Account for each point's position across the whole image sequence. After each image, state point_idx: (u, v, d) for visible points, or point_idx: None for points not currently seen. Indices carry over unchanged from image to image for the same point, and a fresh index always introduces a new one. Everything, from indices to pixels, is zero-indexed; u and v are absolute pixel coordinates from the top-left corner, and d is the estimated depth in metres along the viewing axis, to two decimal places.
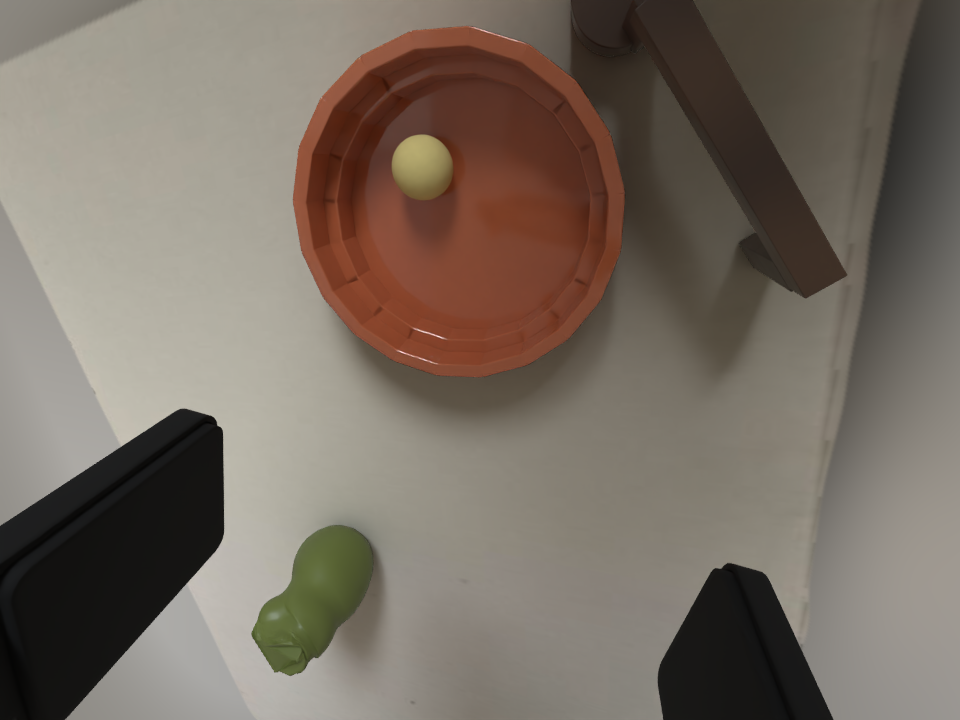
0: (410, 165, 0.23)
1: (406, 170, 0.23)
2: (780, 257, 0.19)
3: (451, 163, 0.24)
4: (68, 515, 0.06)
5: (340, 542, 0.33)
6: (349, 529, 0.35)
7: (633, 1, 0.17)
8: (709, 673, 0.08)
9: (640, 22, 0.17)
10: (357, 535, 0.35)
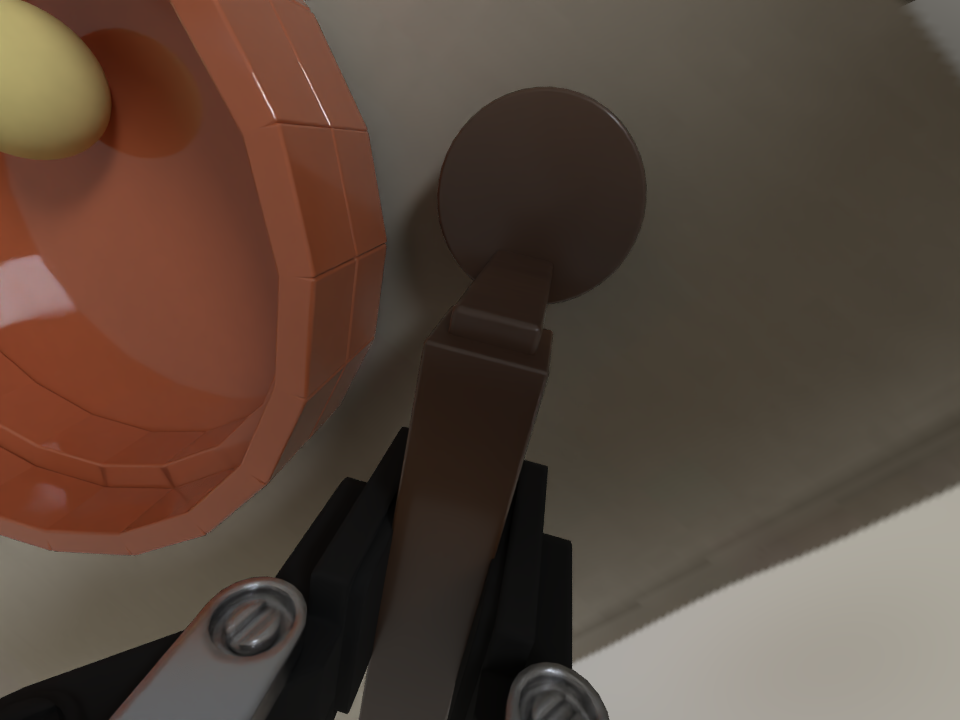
0: None
1: None
2: None
3: (78, 133, 0.10)
4: (376, 526, 0.07)
5: None
6: None
7: (453, 310, 0.06)
8: None
9: (421, 366, 0.06)
10: None
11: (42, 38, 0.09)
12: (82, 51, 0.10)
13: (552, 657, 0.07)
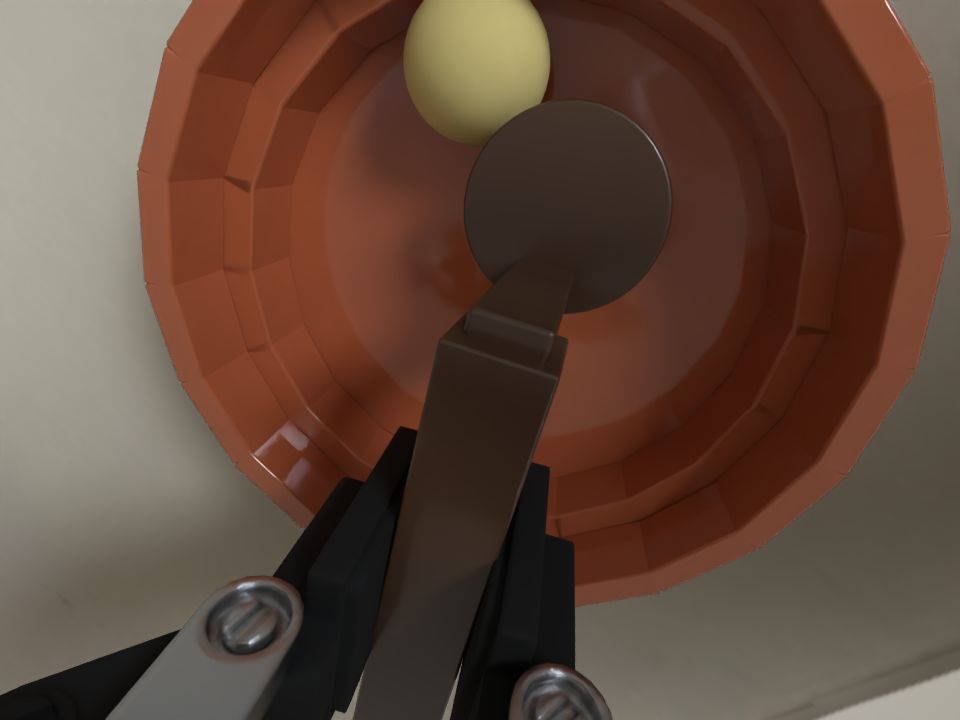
0: None
1: None
2: None
3: (479, 52, 0.09)
4: (374, 525, 0.07)
5: None
6: None
7: (469, 311, 0.07)
8: None
9: (434, 364, 0.07)
10: None
11: None
12: (545, 39, 0.10)
13: (555, 658, 0.07)
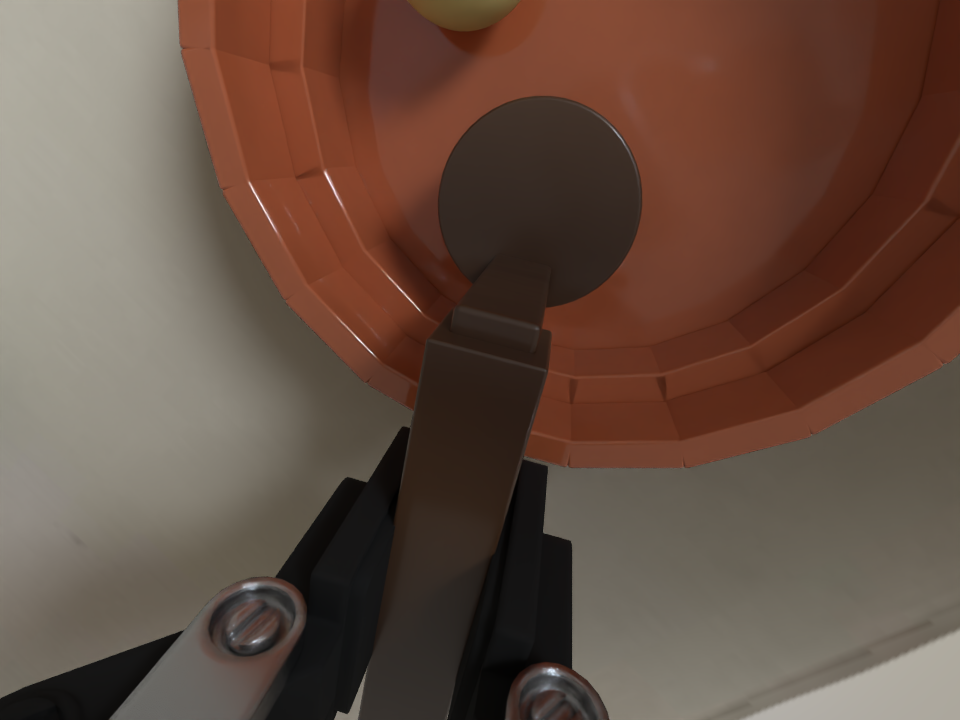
0: None
1: None
2: None
3: (441, 22, 0.10)
4: (376, 526, 0.07)
5: None
6: None
7: (455, 309, 0.07)
8: None
9: None
10: None
11: None
12: (515, 6, 0.10)
13: (552, 657, 0.07)
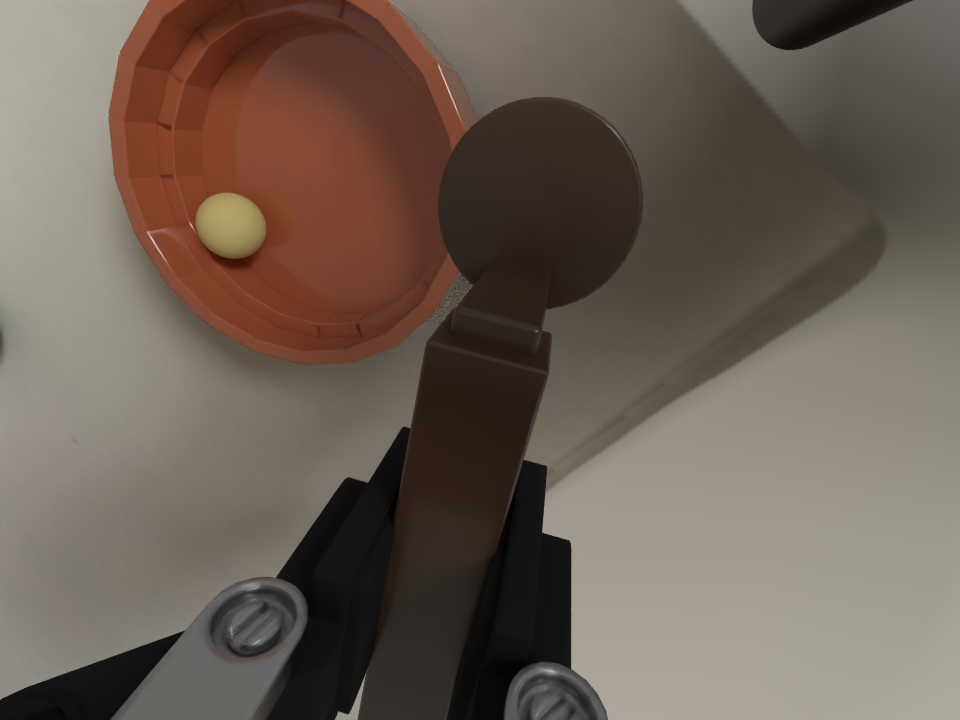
0: None
1: None
2: None
3: None
4: (378, 526, 0.07)
5: None
6: None
7: (454, 312, 0.07)
8: None
9: (423, 366, 0.07)
10: None
11: (264, 226, 0.23)
12: (255, 220, 0.23)
13: (551, 657, 0.07)
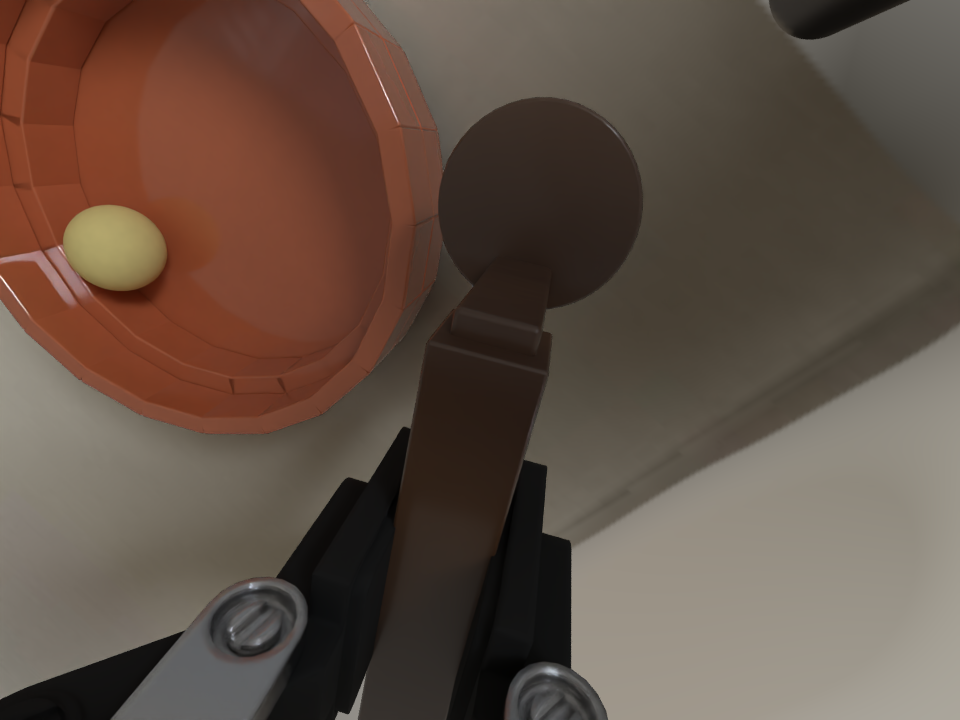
0: None
1: None
2: None
3: (130, 209, 0.18)
4: (377, 526, 0.07)
5: None
6: None
7: (455, 312, 0.07)
8: None
9: (423, 366, 0.07)
10: None
11: (163, 248, 0.18)
12: (149, 240, 0.17)
13: (551, 657, 0.07)
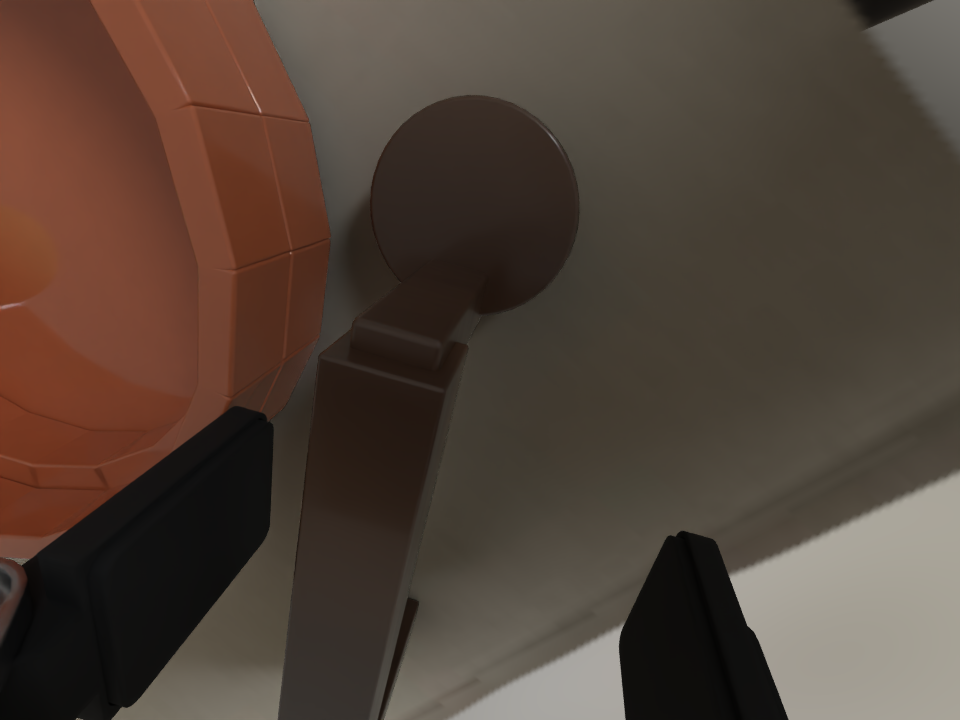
0: None
1: None
2: None
3: None
4: (147, 505, 0.07)
5: None
6: None
7: (354, 323, 0.06)
8: (659, 631, 0.08)
9: None
10: None
11: None
12: None
13: None
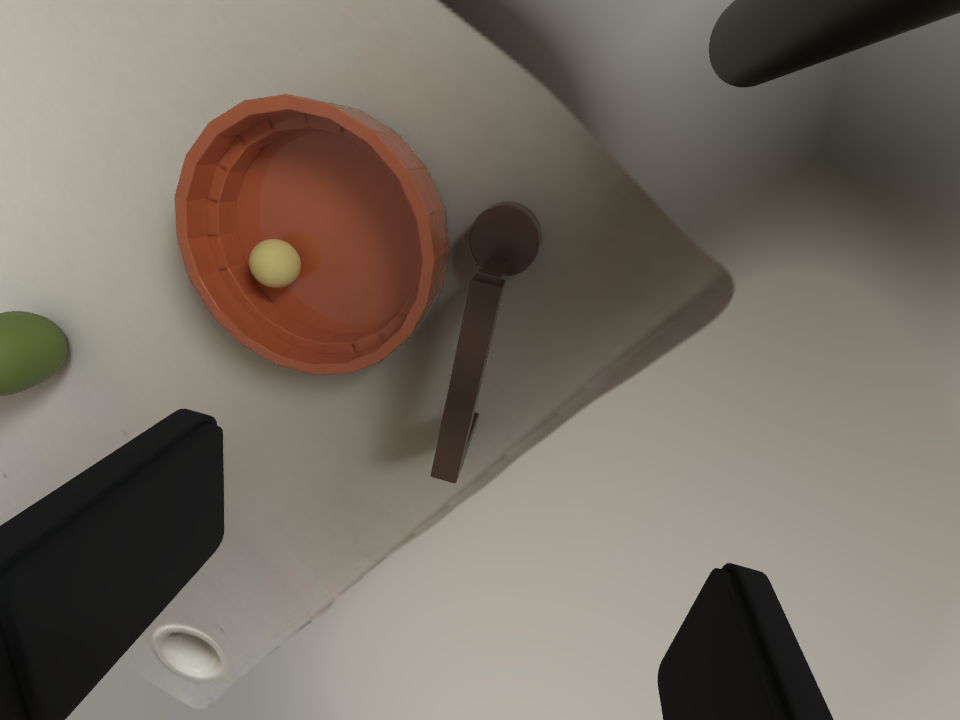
0: None
1: None
2: (436, 449, 0.29)
3: None
4: (68, 515, 0.06)
5: (40, 340, 0.35)
6: (59, 334, 0.37)
7: (478, 273, 0.25)
8: (709, 673, 0.08)
9: None
10: (62, 343, 0.37)
11: None
12: (299, 258, 0.32)
13: None
